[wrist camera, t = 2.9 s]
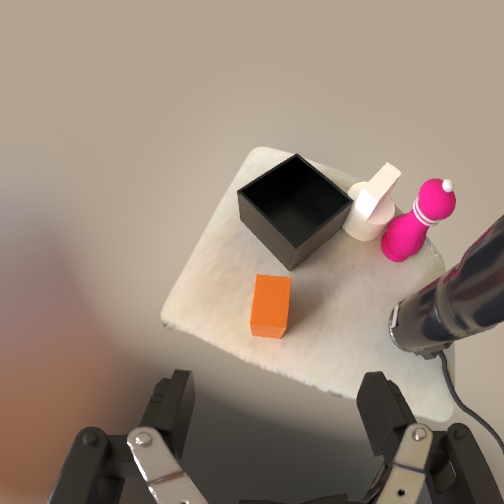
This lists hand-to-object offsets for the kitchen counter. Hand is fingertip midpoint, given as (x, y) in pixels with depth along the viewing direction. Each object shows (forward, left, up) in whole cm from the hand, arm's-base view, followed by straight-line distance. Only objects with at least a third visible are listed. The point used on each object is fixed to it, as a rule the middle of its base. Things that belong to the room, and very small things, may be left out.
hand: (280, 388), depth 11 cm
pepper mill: (+1, -32, -30) cm, 44 cm away
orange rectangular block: (+7, -6, -30) cm, 31 cm away
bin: (+17, -20, -30) cm, 40 cm away
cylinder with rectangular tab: (+9, -31, -30) cm, 44 cm away
